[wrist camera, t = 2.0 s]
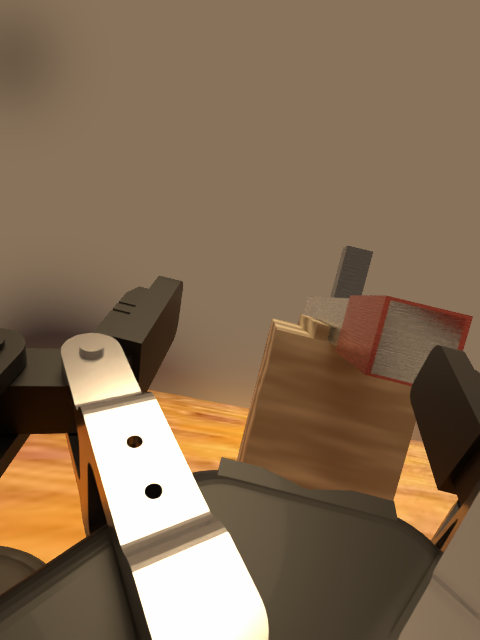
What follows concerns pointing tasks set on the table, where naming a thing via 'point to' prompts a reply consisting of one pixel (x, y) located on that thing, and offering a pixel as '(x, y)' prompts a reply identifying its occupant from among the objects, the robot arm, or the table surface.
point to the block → (382, 324)
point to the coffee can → (16, 566)
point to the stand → (325, 416)
